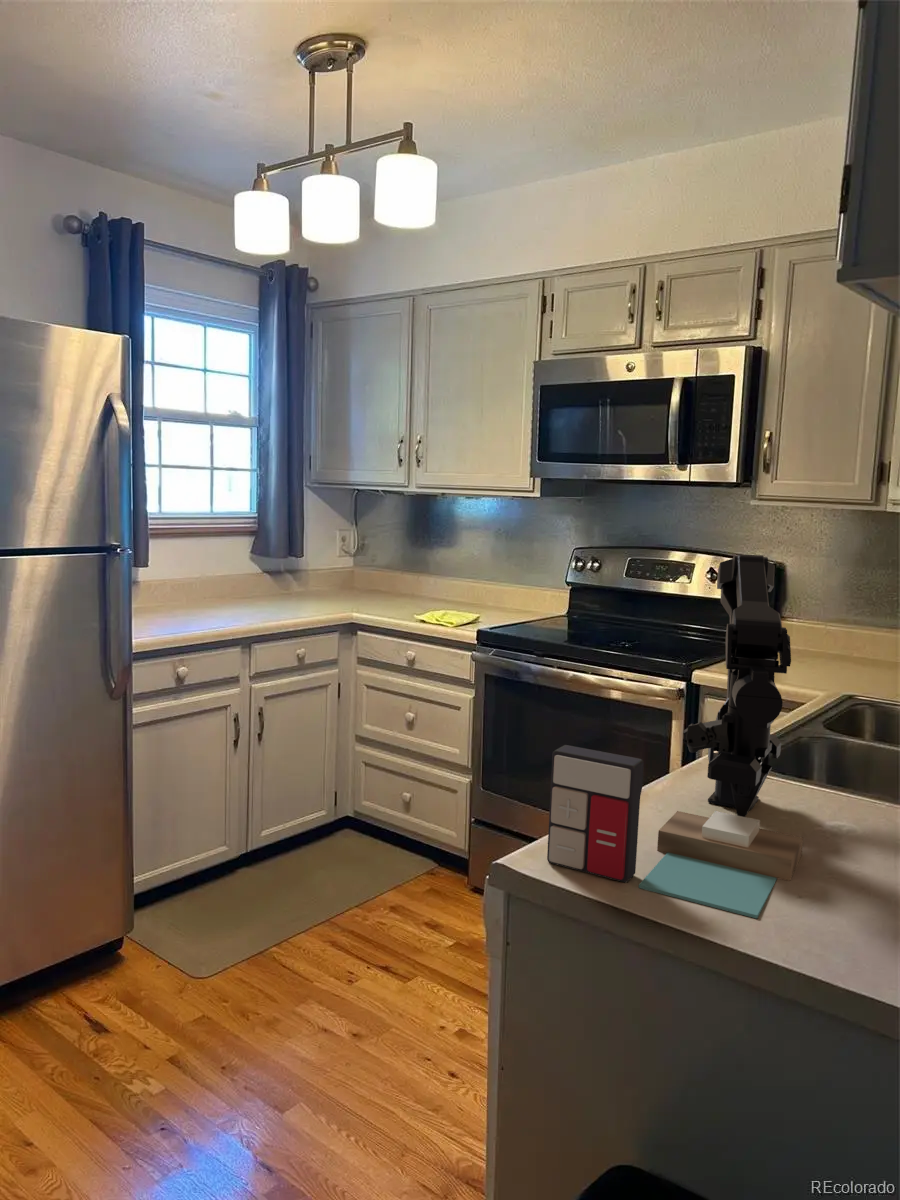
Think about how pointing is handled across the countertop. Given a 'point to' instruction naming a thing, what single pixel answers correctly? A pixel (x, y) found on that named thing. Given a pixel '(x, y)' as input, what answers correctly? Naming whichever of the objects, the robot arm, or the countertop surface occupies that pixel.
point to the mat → (710, 884)
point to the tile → (731, 829)
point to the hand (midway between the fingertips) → (741, 816)
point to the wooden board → (731, 847)
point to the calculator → (594, 812)
